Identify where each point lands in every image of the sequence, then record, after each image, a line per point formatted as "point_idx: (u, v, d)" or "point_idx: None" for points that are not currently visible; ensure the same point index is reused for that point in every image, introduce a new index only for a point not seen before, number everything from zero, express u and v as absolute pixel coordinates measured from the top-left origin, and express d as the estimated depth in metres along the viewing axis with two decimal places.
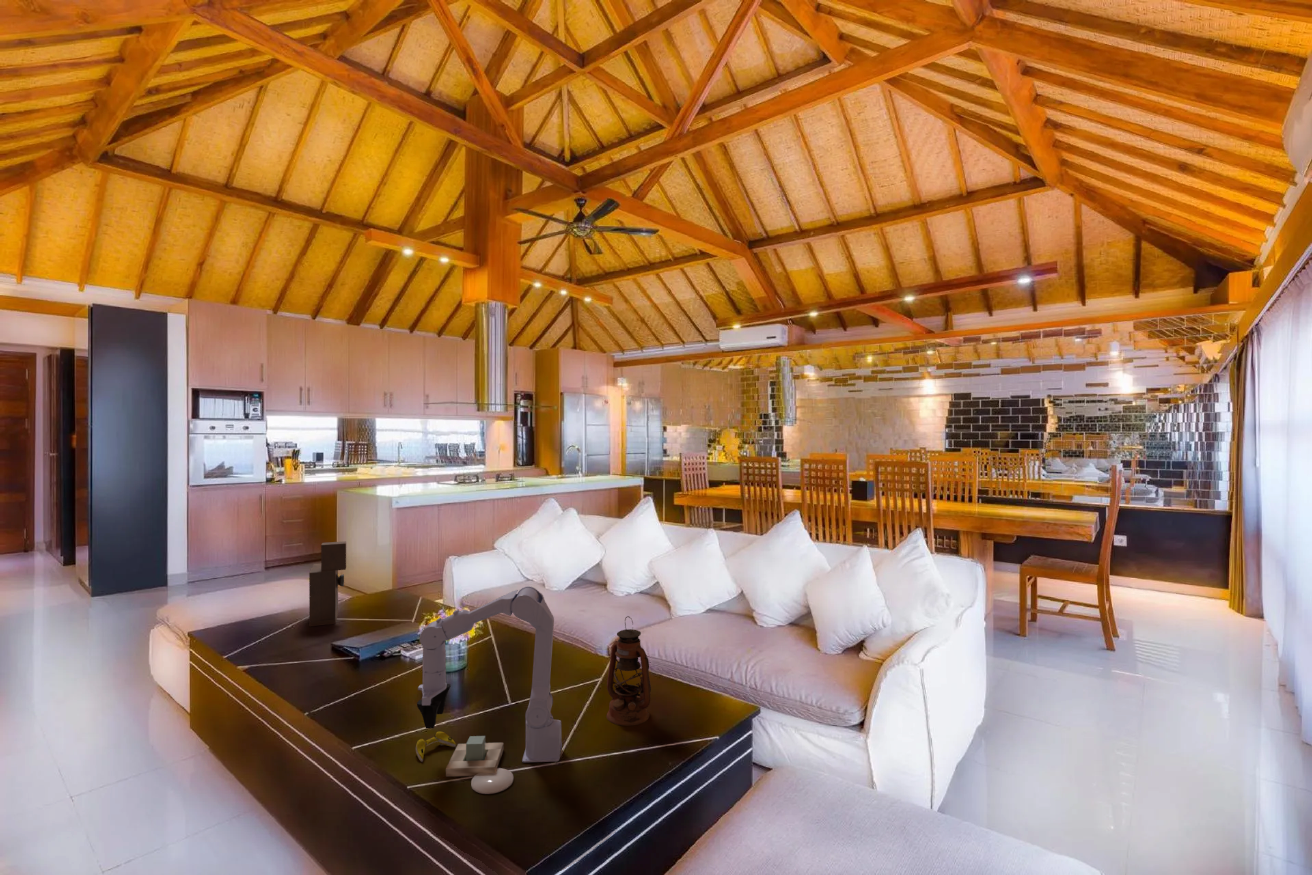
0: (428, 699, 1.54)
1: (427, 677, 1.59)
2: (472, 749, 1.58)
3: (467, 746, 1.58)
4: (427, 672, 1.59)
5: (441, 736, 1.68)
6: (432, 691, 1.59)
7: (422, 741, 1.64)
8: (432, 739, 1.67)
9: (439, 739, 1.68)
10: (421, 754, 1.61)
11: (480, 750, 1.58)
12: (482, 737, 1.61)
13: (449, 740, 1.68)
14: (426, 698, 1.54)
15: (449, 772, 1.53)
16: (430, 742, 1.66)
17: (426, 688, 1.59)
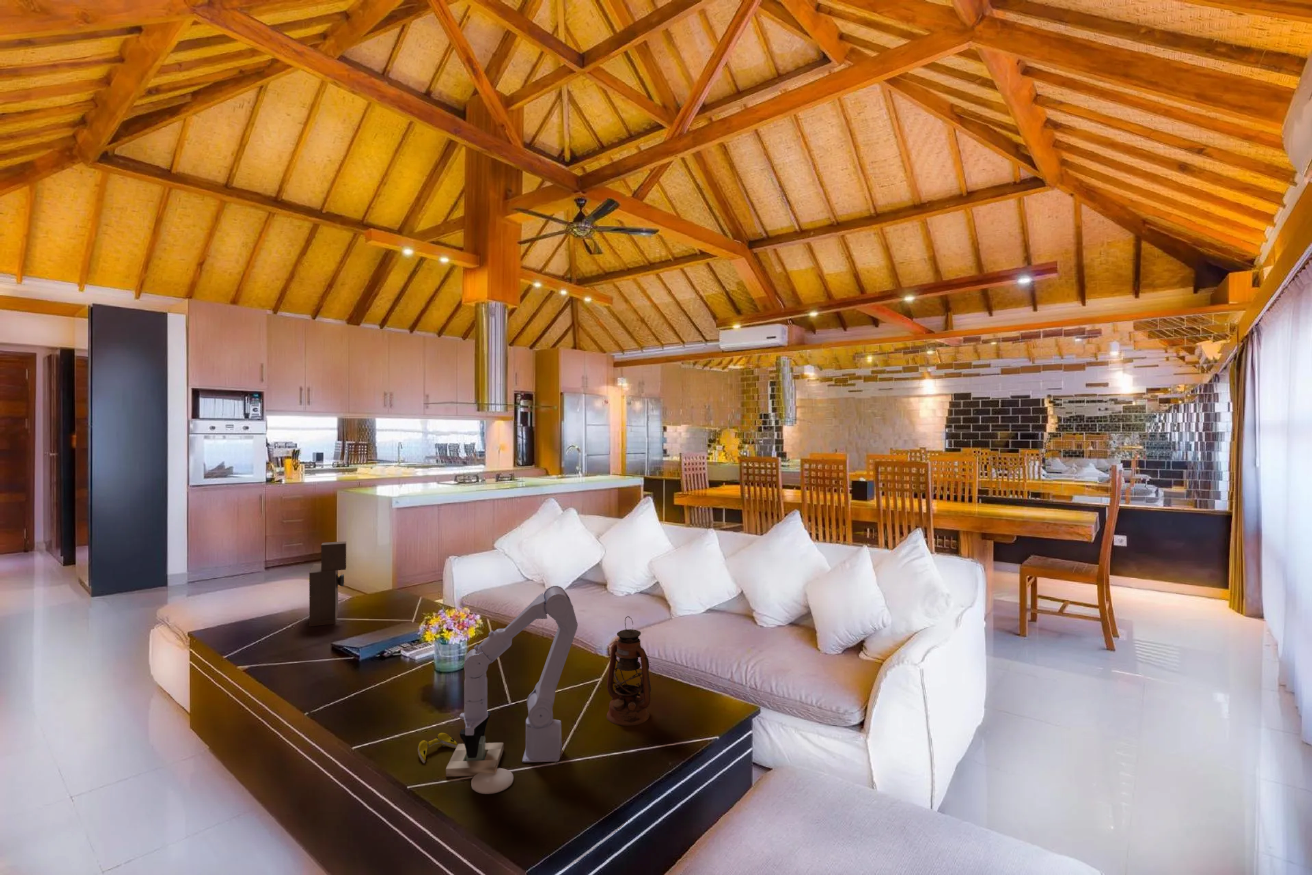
0: (471, 729, 1.52)
1: (469, 705, 1.57)
2: None
3: None
4: (469, 701, 1.57)
5: (443, 738, 1.67)
6: (474, 720, 1.57)
7: (424, 742, 1.64)
8: (434, 740, 1.66)
9: (441, 740, 1.67)
10: (423, 755, 1.60)
11: (480, 750, 1.58)
12: (482, 737, 1.61)
13: (451, 741, 1.67)
14: (469, 728, 1.52)
15: (449, 772, 1.53)
16: (432, 743, 1.65)
17: (468, 717, 1.57)
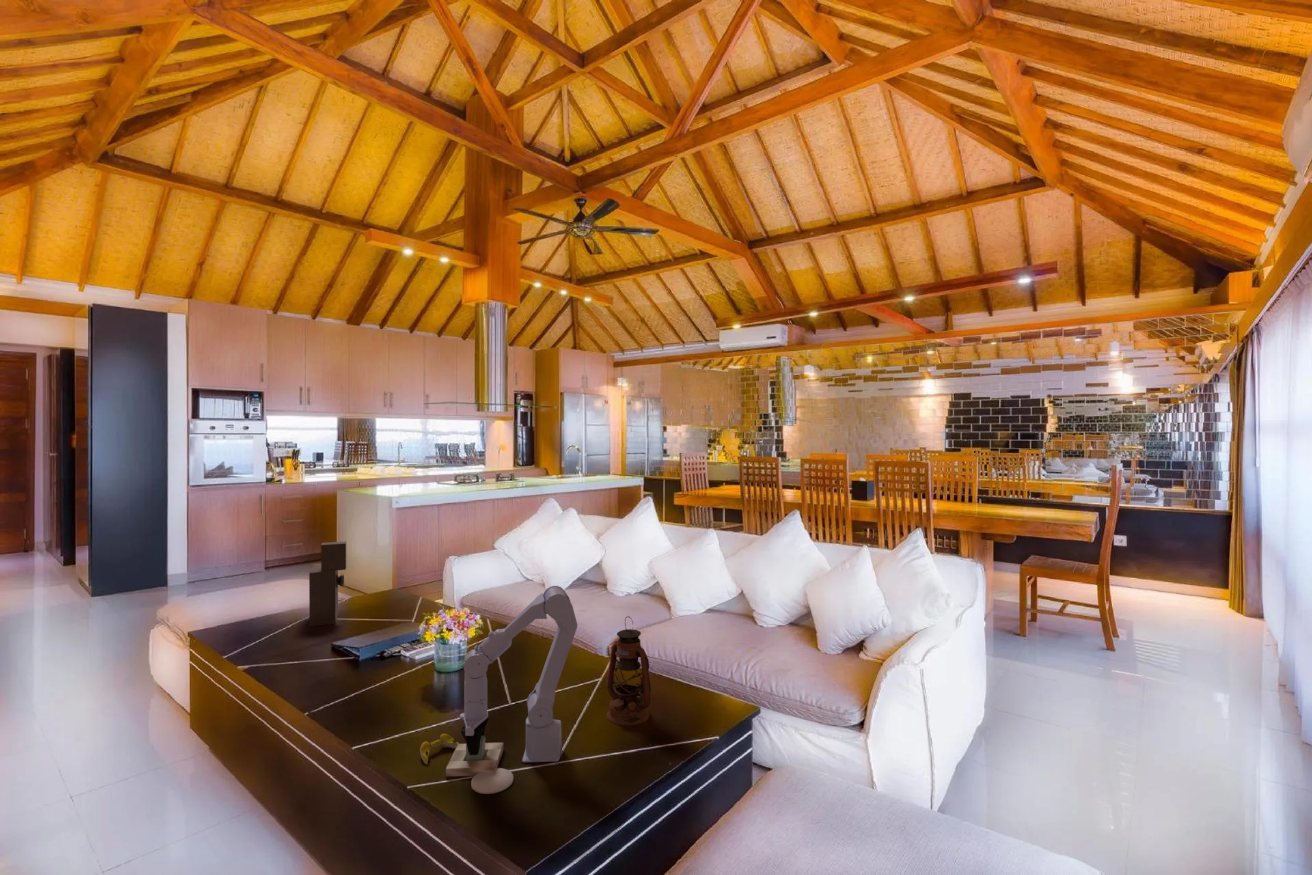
0: (471, 729, 1.52)
1: (469, 706, 1.57)
2: None
3: None
4: (469, 701, 1.57)
5: (445, 739, 1.67)
6: (474, 720, 1.57)
7: (426, 743, 1.63)
8: (436, 741, 1.65)
9: (443, 741, 1.66)
10: (426, 756, 1.60)
11: (480, 750, 1.58)
12: (482, 737, 1.61)
13: (453, 742, 1.67)
14: (469, 728, 1.52)
15: (449, 772, 1.53)
16: (434, 744, 1.65)
17: (468, 717, 1.57)
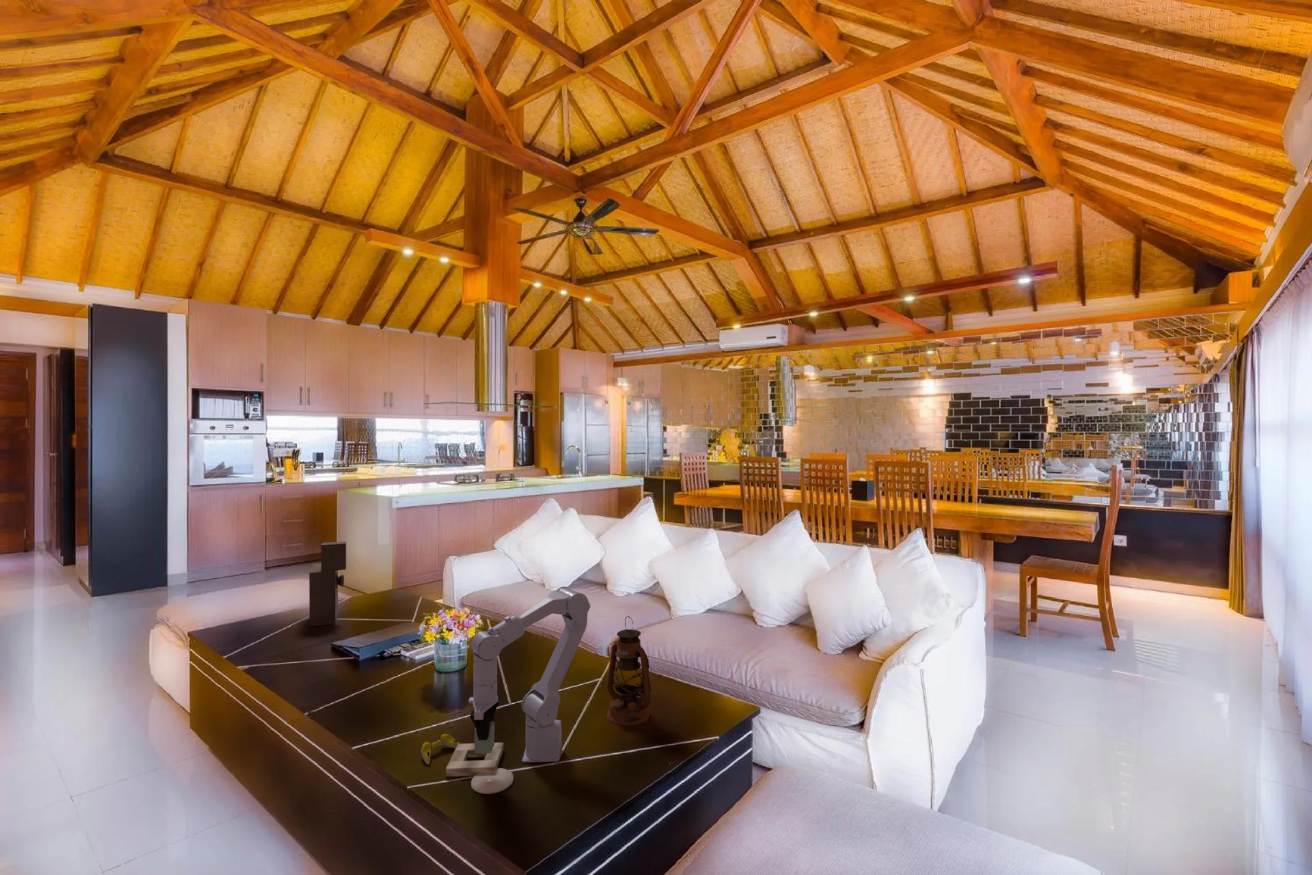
0: (481, 713, 1.47)
1: (479, 689, 1.52)
2: None
3: (475, 731, 1.53)
4: (478, 684, 1.52)
5: (446, 739, 1.67)
6: (484, 704, 1.51)
7: (428, 744, 1.63)
8: (437, 742, 1.65)
9: (444, 742, 1.66)
10: (427, 757, 1.59)
11: (489, 736, 1.53)
12: (491, 722, 1.56)
13: (454, 742, 1.67)
14: (478, 712, 1.47)
15: (449, 772, 1.53)
16: (435, 745, 1.64)
17: (477, 701, 1.52)
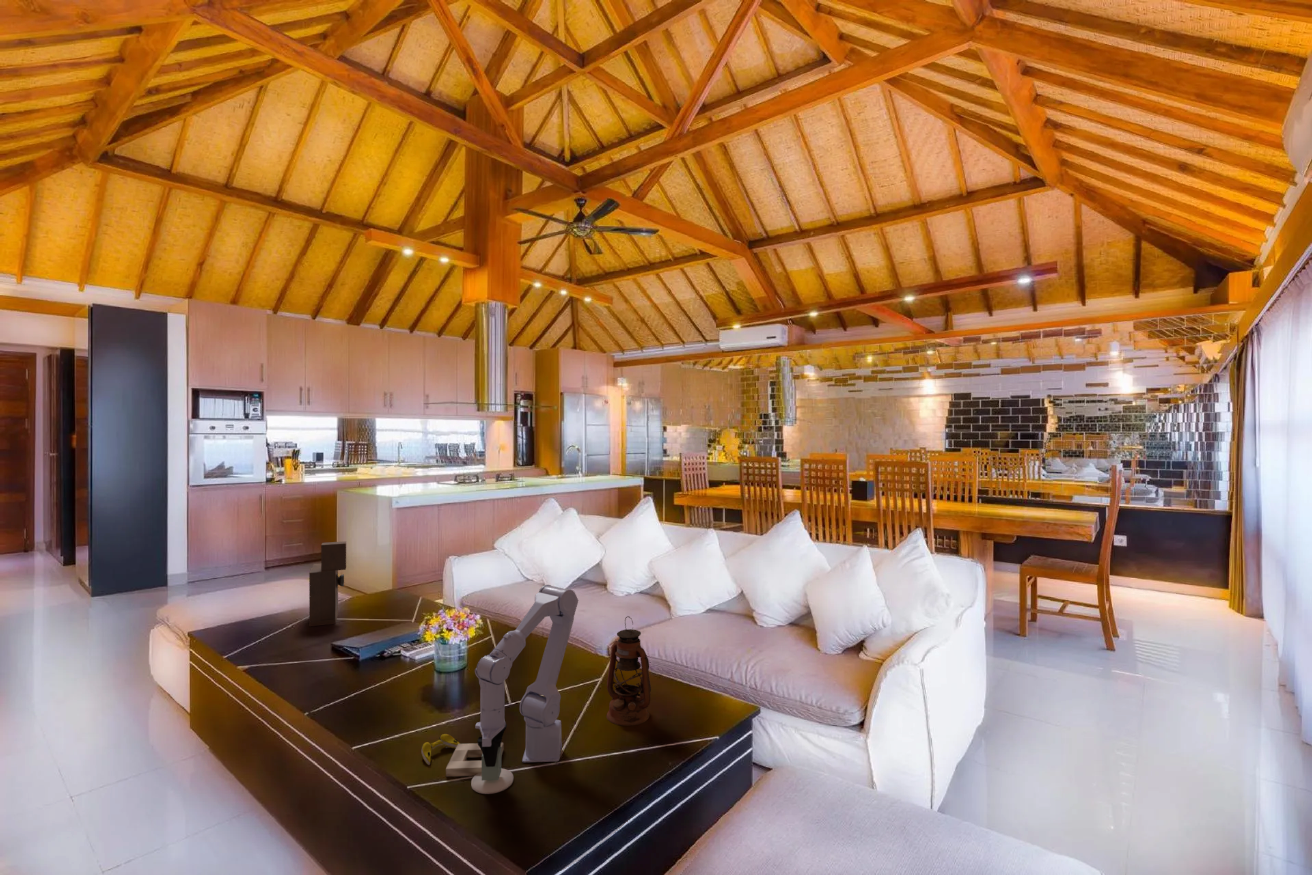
0: (489, 740, 1.44)
1: (486, 715, 1.48)
2: None
3: (483, 758, 1.49)
4: (486, 710, 1.48)
5: (446, 739, 1.67)
6: (491, 730, 1.48)
7: (428, 744, 1.63)
8: (437, 742, 1.65)
9: (444, 742, 1.66)
10: (428, 757, 1.59)
11: (496, 762, 1.49)
12: (498, 748, 1.52)
13: (455, 742, 1.67)
14: (487, 739, 1.44)
15: (449, 772, 1.53)
16: (436, 745, 1.64)
17: (485, 727, 1.48)
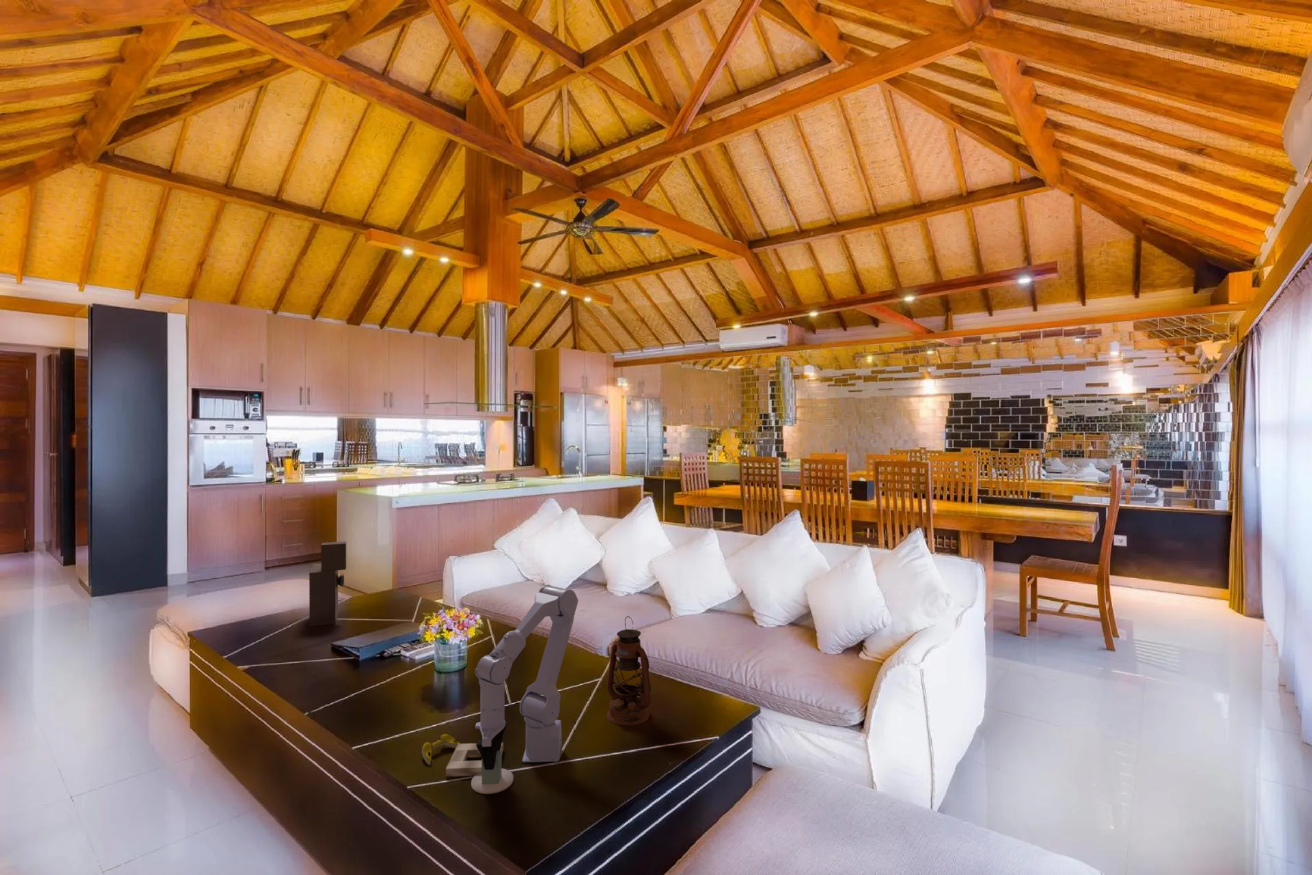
0: (489, 740, 1.44)
1: (486, 715, 1.48)
2: None
3: None
4: (486, 710, 1.48)
5: (446, 739, 1.67)
6: (491, 730, 1.48)
7: (428, 744, 1.63)
8: (438, 742, 1.65)
9: (444, 742, 1.66)
10: (429, 757, 1.59)
11: (496, 766, 1.49)
12: (498, 752, 1.53)
13: (455, 742, 1.67)
14: (486, 739, 1.44)
15: (449, 772, 1.53)
16: (436, 745, 1.64)
17: (485, 727, 1.48)
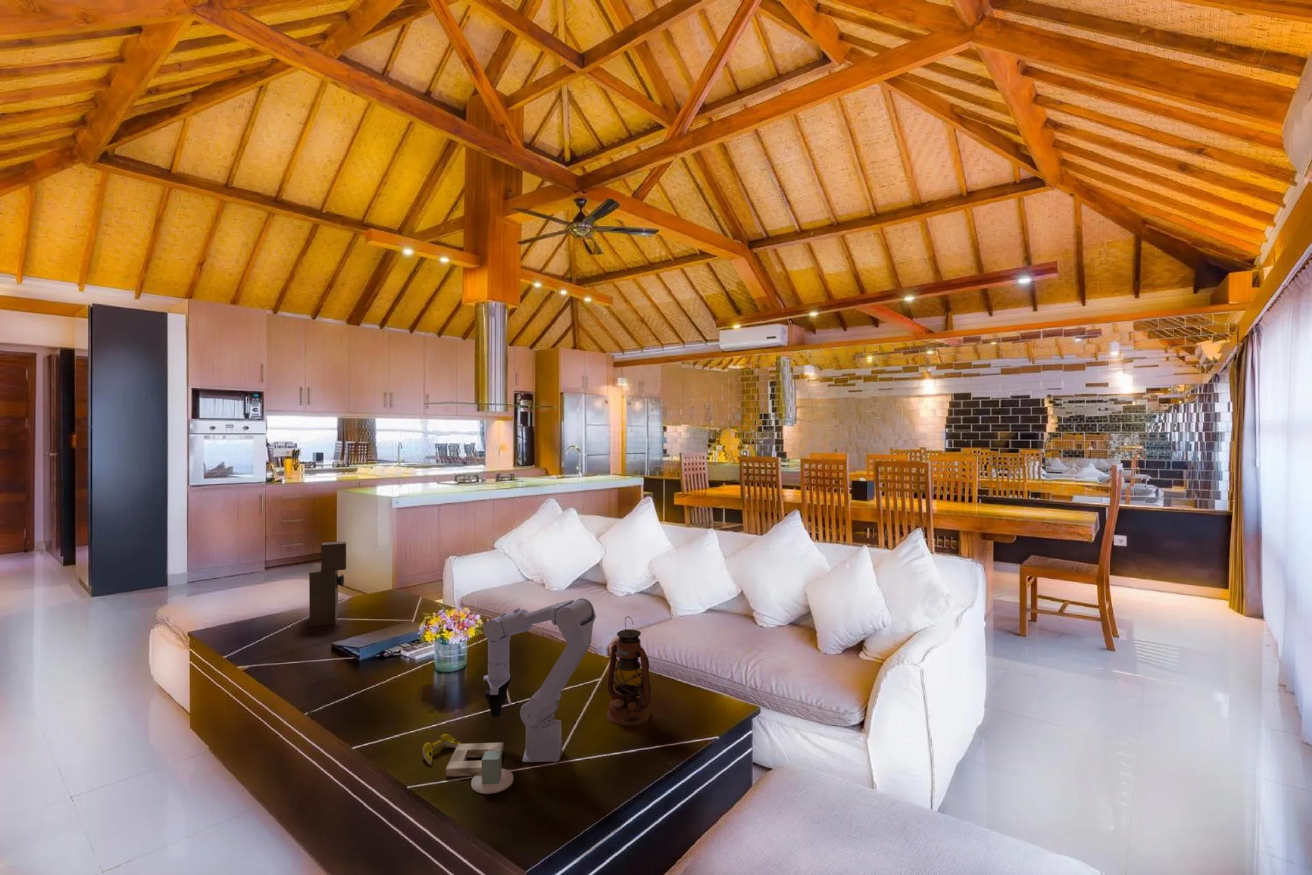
0: (496, 689, 1.62)
1: (493, 668, 1.66)
2: (488, 765, 1.49)
3: (483, 762, 1.49)
4: (493, 663, 1.66)
5: (447, 739, 1.67)
6: (498, 681, 1.66)
7: (429, 744, 1.63)
8: (438, 742, 1.65)
9: (445, 742, 1.66)
10: (430, 757, 1.59)
11: (496, 766, 1.49)
12: (498, 752, 1.53)
13: (455, 742, 1.67)
14: (494, 688, 1.62)
15: (449, 772, 1.53)
16: (436, 745, 1.64)
17: (492, 678, 1.66)
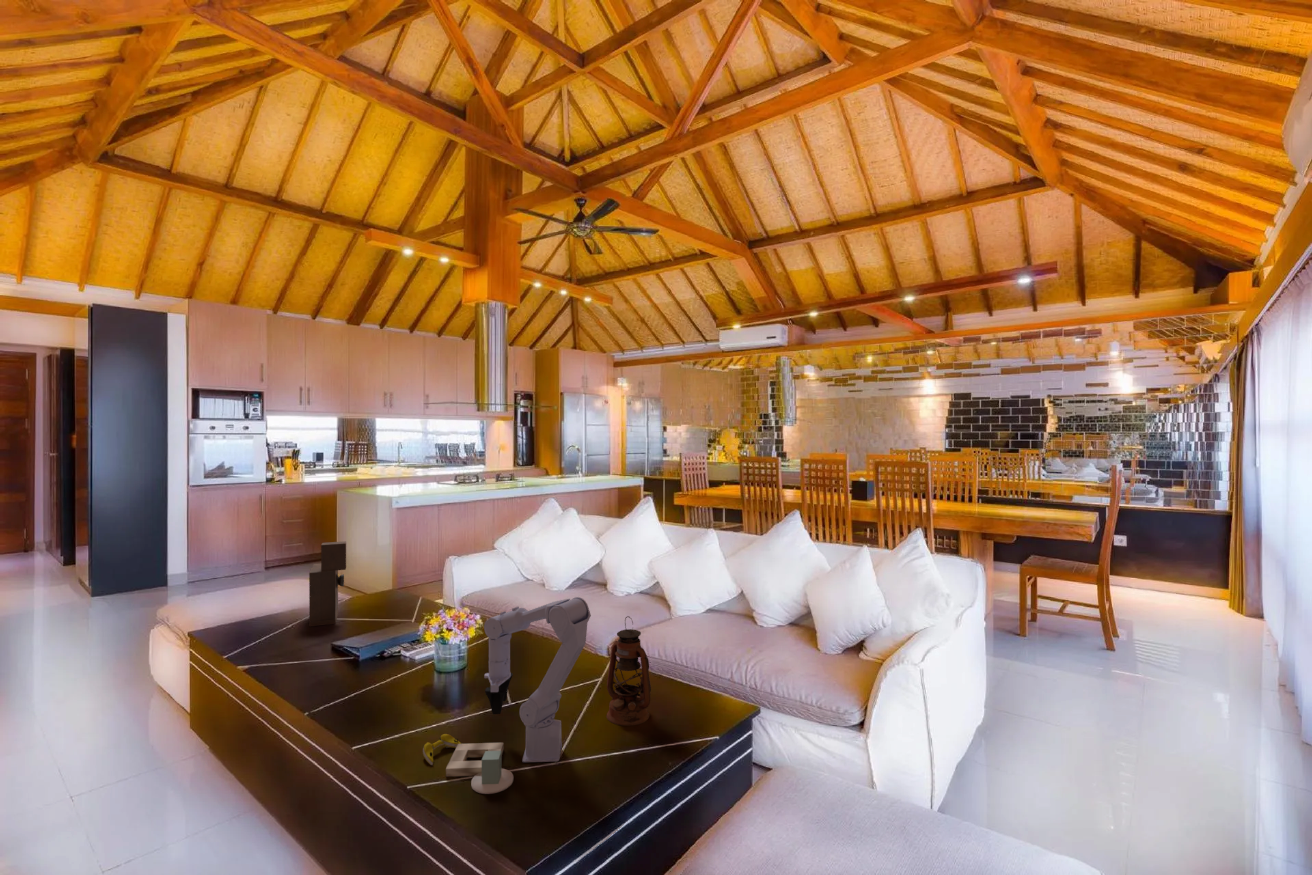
0: (496, 686, 1.64)
1: (494, 665, 1.68)
2: (488, 765, 1.49)
3: (483, 762, 1.49)
4: (494, 661, 1.68)
5: (447, 739, 1.67)
6: (498, 679, 1.68)
7: (429, 744, 1.62)
8: (438, 742, 1.65)
9: (445, 742, 1.66)
10: (431, 757, 1.59)
11: (496, 766, 1.49)
12: (498, 752, 1.53)
13: (455, 742, 1.67)
14: (494, 685, 1.64)
15: (449, 772, 1.53)
16: (437, 745, 1.64)
17: (493, 676, 1.68)
